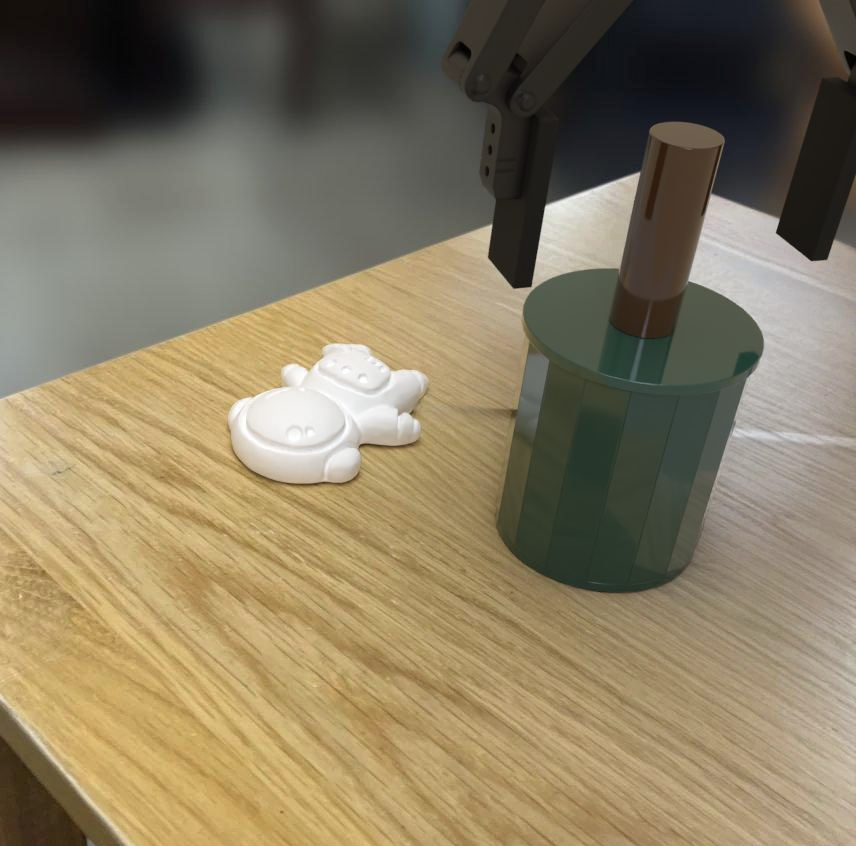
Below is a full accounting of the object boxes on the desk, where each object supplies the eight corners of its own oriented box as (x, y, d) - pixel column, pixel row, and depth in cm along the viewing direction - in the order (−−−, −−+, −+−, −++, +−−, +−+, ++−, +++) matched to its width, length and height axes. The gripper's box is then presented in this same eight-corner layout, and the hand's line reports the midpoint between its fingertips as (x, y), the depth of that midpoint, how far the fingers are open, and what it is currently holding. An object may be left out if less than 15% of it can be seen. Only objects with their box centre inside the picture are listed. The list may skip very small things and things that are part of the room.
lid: (733, 299, 56) (791, 99, 50) (780, 419, 48) (854, 198, 42) (514, 281, 56) (546, 80, 50) (524, 398, 48) (564, 176, 43)
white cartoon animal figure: (465, 416, 65) (472, 367, 63) (306, 508, 58) (309, 456, 57) (346, 353, 70) (350, 305, 68) (186, 431, 63) (185, 380, 61)
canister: (679, 478, 62) (732, 290, 55) (710, 601, 55) (776, 401, 48) (492, 462, 62) (524, 273, 56) (498, 583, 55) (535, 382, 48)
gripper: (1070, -398, 42) (865, 200, 55) (384, -434, 36) (342, 241, 50) (1253, -385, 36) (975, 276, 50) (476, -426, 31) (401, 332, 44)
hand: (659, 259), depth 50 cm, fingers open, 12 cm apart
